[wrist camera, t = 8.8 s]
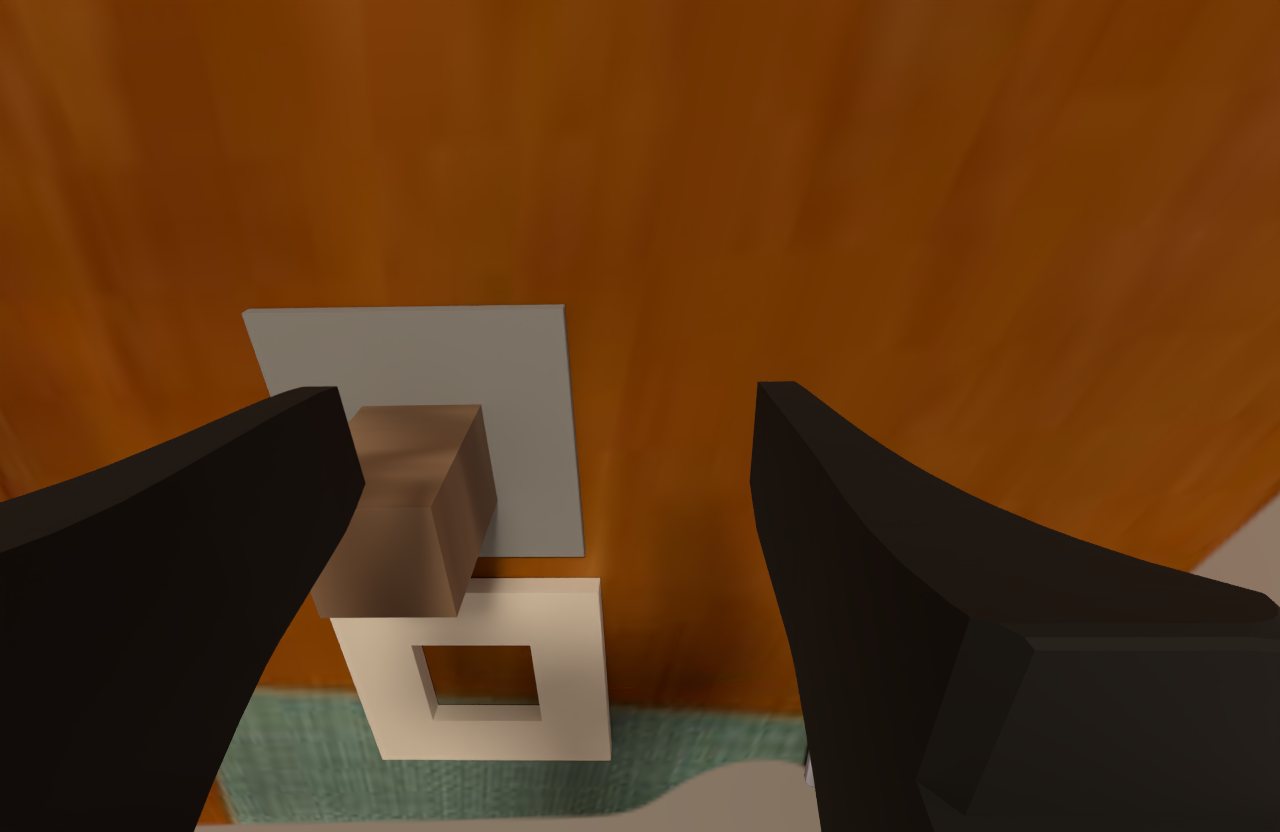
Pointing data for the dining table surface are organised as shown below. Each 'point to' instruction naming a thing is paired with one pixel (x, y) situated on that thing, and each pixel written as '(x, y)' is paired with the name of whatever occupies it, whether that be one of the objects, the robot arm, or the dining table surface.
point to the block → (412, 514)
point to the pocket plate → (553, 730)
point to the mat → (454, 394)
